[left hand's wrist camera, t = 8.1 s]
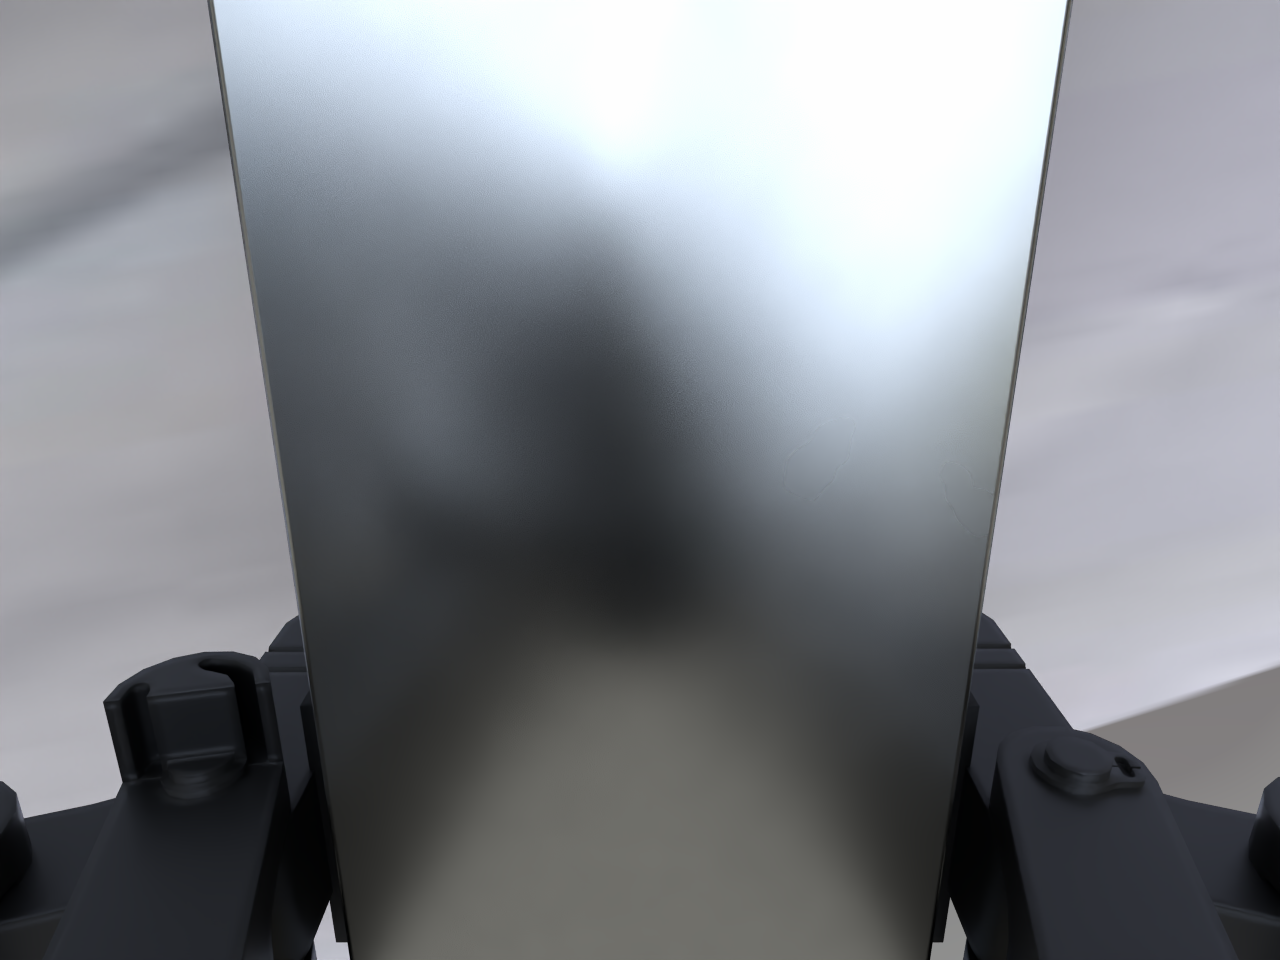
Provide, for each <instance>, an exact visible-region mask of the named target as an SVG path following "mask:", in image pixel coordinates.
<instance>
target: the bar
mask: <svg viewBox="0 0 1280 960" xmlns="http://www.w3.org/2000/svg"><path fill="white" fill-rule="evenodd" d="M207 2H208V9H209V15H210V22H211V29H212V35H213V42H214V49H215V56H216V62H217V69H218V76H219V82H220V89H221V96H222V103H223V109H224V116H225V123H226V129H227V136H228V143H229V150H230V156H231V163H232V170H233V176H234V183H235V190H236V197H237V203H238V210H239V217H240V223H241V230H242V237H243V244H244V250H245V257H246V264H247V270H248V277H249V284H250V291H251V297H252V304H253V311H254V317H255V324H256V331H257V338H258V344H259V351H260V358H261V364H262V371H263V378H264V385H265V391H266V398H267V405H268V411H269V418H270V425H271V432H272V438H273V445H274V452H275V458H276V465H277V472H278V479H279V485H280V492H281V499H282V505H283V512H284V519H285V526H286V532H287V539H288V546H289V552H290V559H291V566H292V573H293V579H294V586H295V593H296V599H297V606H298V613H299V620H300V626H301V633H302V640H303V646H304V653H305V660H306V667H307V673H308V680H309V687H310V693H311V700H312V707H313V714H314V720H315V727H316V734H317V740H318V747H319V754H320V761H321V767H322V774H323V781H324V787H325V794H326V801H327V808H328V814H329V821H330V828H331V834H332V841H333V848H334V855H335V861H336V868H337V875H338V881H339V888H340V895H341V902H342V908H343V915H344V922H345V928H346V935H347V942H348V949H349V955H350V960H930V956H931V949H932V943H933V936H934V929H935V923H936V916H937V909H938V903H939V896H940V889H941V882H942V876H943V869H944V862H945V856H946V849H947V842H948V835H949V829H950V822H951V815H952V809H953V802H954V795H955V789H956V782H957V775H958V768H959V762H960V755H961V748H962V742H963V735H964V728H965V721H966V715H967V708H968V701H969V695H970V688H971V681H972V674H973V668H974V661H975V654H976V648H977V641H978V634H979V627H980V621H981V614H982V607H983V601H984V594H985V587H986V581H987V574H988V567H989V560H990V554H991V547H992V540H993V534H994V527H995V520H996V513H997V507H998V500H999V493H1000V487H1001V480H1002V473H1003V466H1004V460H1005V453H1006V446H1007V440H1008V433H1009V426H1010V420H1011V413H1012V406H1013V399H1014V393H1015V386H1016V379H1017V373H1018V366H1019V359H1020V352H1021V346H1022V339H1023V332H1024V326H1025V319H1026V312H1027V305H1028V299H1029V292H1030V285H1031V279H1032V272H1033V265H1034V259H1035V252H1036V245H1037V238H1038V232H1039V225H1040V218H1041V212H1042V205H1043V198H1044V191H1045V185H1046V178H1047V171H1048V165H1049V158H1050V151H1051V145H1052V138H1053V131H1054V124H1055V118H1056V111H1057V104H1058V98H1059V91H1060V84H1061V77H1062V71H1063V64H1064V57H1065V51H1066V44H1067V37H1068V30H1069V24H1070V17H1071V10H1072V4H1073V0H207Z"/></svg>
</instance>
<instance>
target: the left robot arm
mask: <svg viewBox="0 0 1280 960" xmlns="http://www.w3.org/2000/svg"><path fill="white" fill-rule="evenodd" d="M103 704H104V708H105V712H106V716H107V720H108V724H109V728H110V732H111V736H112V741H113V745H114V749H115V753H116V757H117V761H118V765H119V769H120V773H121V778H122V782H123V783H122V785H121V788H120V790H119V792H118V794H117V796H116V798H114V799H110V800H106V801H103V802H99V803H95V804H91V805H87V806H82V807H77V808H72V809H67V810H62V811H58V812H53V813H48V814H43V815H38V816H34V817H29V818H23V814H22V811H21V807H20V804H19V801H18V797H17V794H16V792H15V791H13V790H12V789H11V788H10V787H9V786H7V785H6V784H5V783H4V782H2V781H0V960H317V957H316V951H315V945H314V937H315V935H316V932H317V930H318V927H319V925H320V923H321V920H322V918H323V915H324V913H325V910H326V908H327V905H328V903H329V900H330V906H331V912H332V919H333V925H334V931H335V938H336V942H347V935H346V928H345V922H344V915H343V908H342V902H341V895H340V888H339V881H338V875H337V868H336V861H335V855H334V848H333V841H332V834H331V828H330V821H329V814H328V808H327V801H326V794H325V787H324V781H323V774H322V767H321V761H320V754H319V747H318V740H317V734H316V727H315V720H314V714H313V707H312V700H311V693H310V687H309V680H308V673H307V667H306V660H305V653H304V646H303V640H302V633H301V626H300V620H299V615H298V616H296V617H295V618H293V619H292V620H290V621H289V622H287V623H286V624H285V626H284V627H283V628H282V630H281V631H280V632H279V634H278V635H277V637H276V638H275V639H274V641H273V642H272V644H271V645H270V646H269V652H265V653H264V655H263V656H262V657H261V659H260V660H258V659H257V658H256V657H254V656H250V655H245V654H241V653H237V652H202V653H197V654H192V655H187V656H182V657H176V658H172V659H170V660H167V661H164V662H162V663H159V664H156V665H154V666H151V667H148V668H146V669H143V670H142V671H140V672H138V673H137V674H135V675H133V676H132V677H130V678H129V679H127V680H125V681H124V682H122V683H120V684H119V685H118V686H117V687H116V688H115V689H114V690H113V691H112V693H111V694H110V695H109V696H108V697H107V698H106V699H105V700H104V701H103ZM950 897H951V900H952V902H953V905H954V907H955V910H956V912H957V914H958V917H959V919H960V922H961V924H962V927H963V929H964V932H965V934H966V937H967V939H966V945H965V951H964V958H963V960H1280V777H1278V778H1276V779H1275V780H1274V781H1273V782H1272V783H1270V784H1269V785H1268V786H1267V787H1265V788H1264V791H1263V794H1262V798H1261V801H1260V805H1259V808H1258V812H1257V815H1256V814H1251V813H1247V812H1242V811H1237V810H1232V809H1227V808H1222V807H1217V806H1213V805H1208V804H1203V803H1198V802H1193V801H1188V800H1184V799H1181V798H1177V797H1173V796H1170V795H1166V794H1163V793H1162V790H1161V788H1160V786H1159V784H1158V782H1157V780H1156V779H1155V778H1154V776H1153V775H1152V774H1151V772H1150V771H1149V770H1148V768H1147V767H1146V766H1145V764H1144V763H1143V762H1142V761H1140V760H1139V759H1137V758H1136V757H1134V756H1133V755H1132V754H1130V753H1129V752H1127V751H1126V750H1125V749H1123V748H1122V747H1121V746H1119V745H1117V744H1114V743H1112V742H1110V741H1107V740H1105V739H1103V738H1101V737H1098V736H1096V735H1094V734H1091V733H1087V732H1083V731H1078V730H1074V729H1073V728H1072V727H1071V726H1070V724H1069V723H1068V721H1067V720H1066V719H1065V717H1064V716H1063V715H1062V713H1061V712H1060V711H1059V709H1058V708H1057V706H1056V705H1055V704H1054V702H1053V701H1052V700H1051V698H1050V697H1049V695H1048V694H1047V693H1046V691H1045V690H1044V689H1043V687H1042V686H1041V684H1040V683H1039V682H1038V680H1037V679H1036V678H1035V676H1034V675H1033V674H1032V672H1031V671H1030V669H1026V667H1025V663H1024V661H1023V660H1022V658H1021V657H1020V656H1019V654H1018V653H1017V652H1016V650H1015V649H1011V643H1010V642H1009V641H1008V639H1007V638H1006V637H1005V635H1004V634H1003V632H1002V631H1001V630H1000V628H999V627H998V626H997V624H996V623H995V622H994V620H993V619H991V618H989V617H988V616H986V615H985V614H983V613H982V614H981V621H980V627H979V634H978V641H977V648H976V654H975V661H974V668H973V674H972V681H971V688H970V695H969V701H968V708H967V715H966V721H965V728H964V735H963V742H962V748H961V755H960V762H959V768H958V775H957V782H956V789H955V795H954V802H953V809H952V815H951V822H950V829H949V835H948V842H947V849H946V856H945V862H944V869H943V876H942V882H941V889H940V896H939V903H938V909H937V916H936V923H935V929H934V936H933V942H943V940H944V933H945V927H946V921H947V914H948V908H949V901H950Z"/></svg>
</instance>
